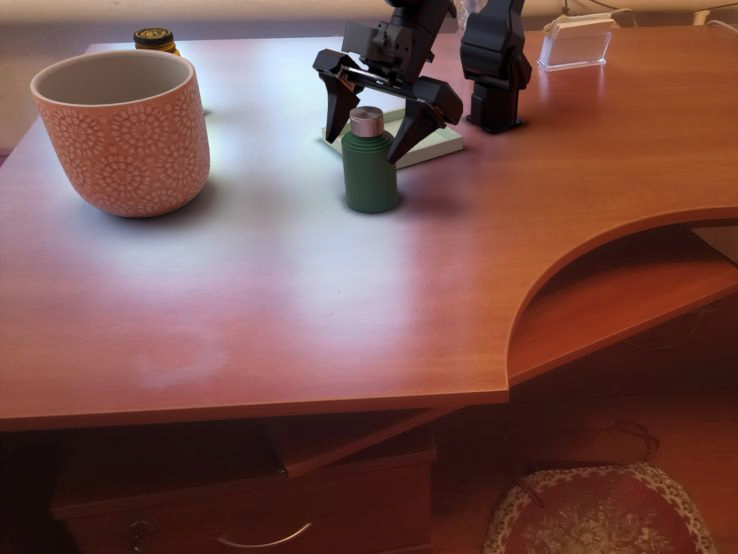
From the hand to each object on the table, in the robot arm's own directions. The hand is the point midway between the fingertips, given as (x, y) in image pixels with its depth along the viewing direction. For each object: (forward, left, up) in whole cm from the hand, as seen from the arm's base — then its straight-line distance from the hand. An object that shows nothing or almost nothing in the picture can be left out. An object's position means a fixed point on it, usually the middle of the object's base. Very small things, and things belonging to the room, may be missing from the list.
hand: (358, 152), depth 85 cm
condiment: (+11, -38, -7) cm, 41 cm away
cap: (-2, -1, +4) cm, 4 cm away
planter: (+21, -16, -7) cm, 27 cm away
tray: (-12, -12, -7) cm, 19 cm away
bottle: (-2, -1, -7) cm, 7 cm away
